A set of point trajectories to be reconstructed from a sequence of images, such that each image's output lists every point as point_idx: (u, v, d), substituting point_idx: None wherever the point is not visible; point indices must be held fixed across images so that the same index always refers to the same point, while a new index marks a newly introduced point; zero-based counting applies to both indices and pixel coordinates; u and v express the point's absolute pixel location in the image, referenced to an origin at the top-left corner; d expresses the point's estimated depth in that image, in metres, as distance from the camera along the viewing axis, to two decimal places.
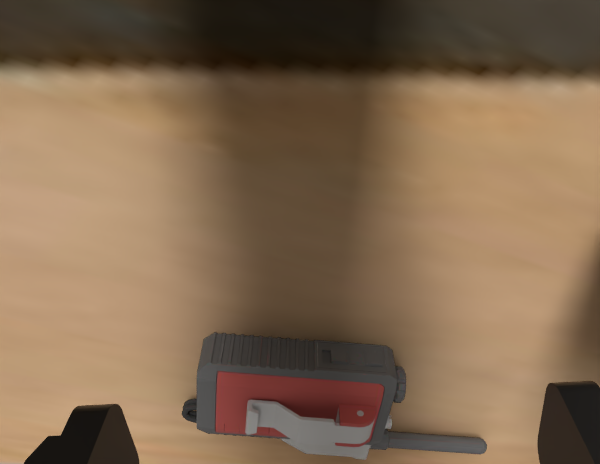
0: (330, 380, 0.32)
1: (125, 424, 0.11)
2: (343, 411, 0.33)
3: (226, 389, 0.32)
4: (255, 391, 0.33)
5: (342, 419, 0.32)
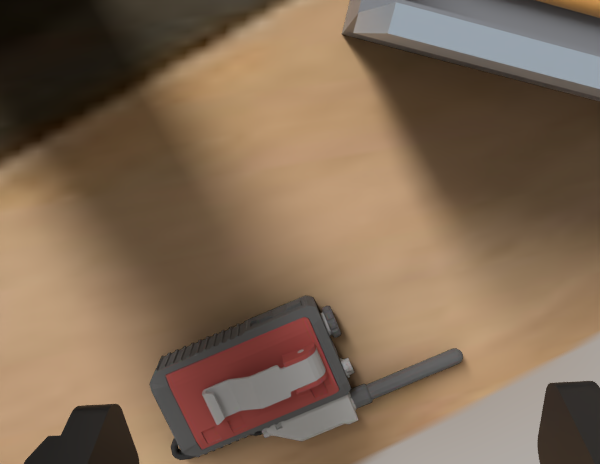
0: (260, 335, 0.35)
1: (125, 424, 0.11)
2: (285, 357, 0.35)
3: (181, 389, 0.35)
4: (205, 378, 0.35)
5: (284, 361, 0.34)
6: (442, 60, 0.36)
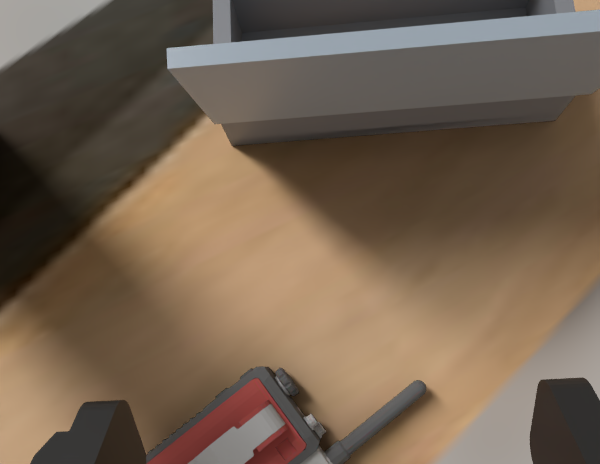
0: (218, 406, 0.37)
1: (132, 420, 0.11)
2: None
3: None
4: (175, 463, 0.36)
5: (240, 420, 0.35)
6: None
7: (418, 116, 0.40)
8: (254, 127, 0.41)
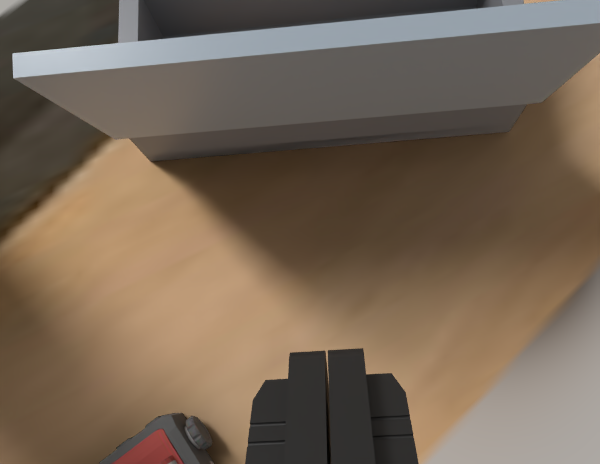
0: (116, 460, 0.32)
1: None
2: None
3: None
4: None
5: None
6: (244, 153, 0.39)
7: (352, 128, 0.36)
8: (168, 141, 0.36)
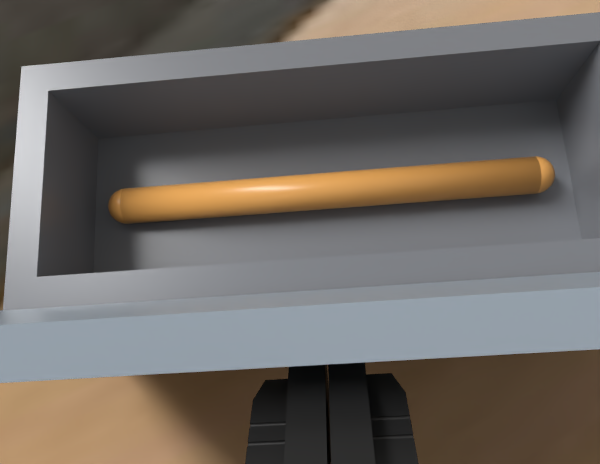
0: None
1: None
2: None
3: None
4: None
5: None
6: None
7: None
8: None
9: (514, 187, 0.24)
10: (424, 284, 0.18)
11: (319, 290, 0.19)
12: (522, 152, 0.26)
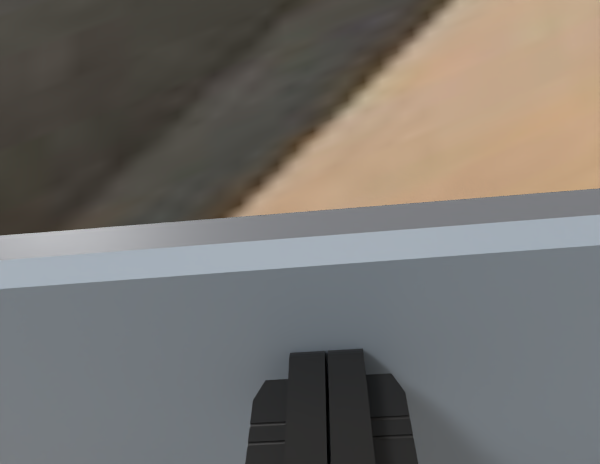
0: None
1: None
2: None
3: None
4: None
5: None
6: None
7: None
8: None
9: None
10: None
11: None
12: None
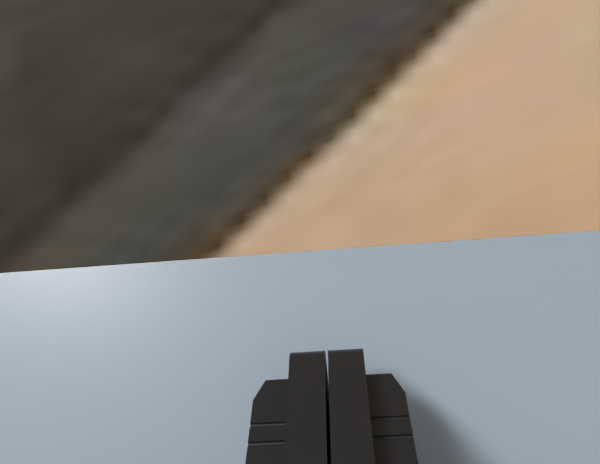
0: None
1: None
2: None
3: None
4: None
5: None
6: None
7: None
8: None
9: None
10: None
11: None
12: None
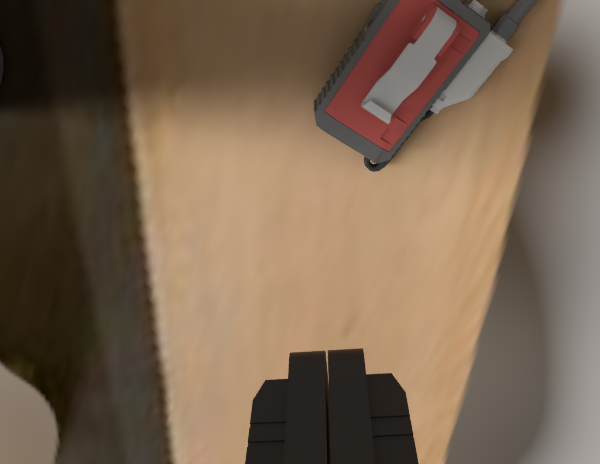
0: (381, 28, 0.36)
1: None
2: (413, 32, 0.35)
3: (343, 114, 0.38)
4: (357, 93, 0.38)
5: (414, 35, 0.35)
6: None
7: None
8: None
9: None
10: None
11: None
12: None
